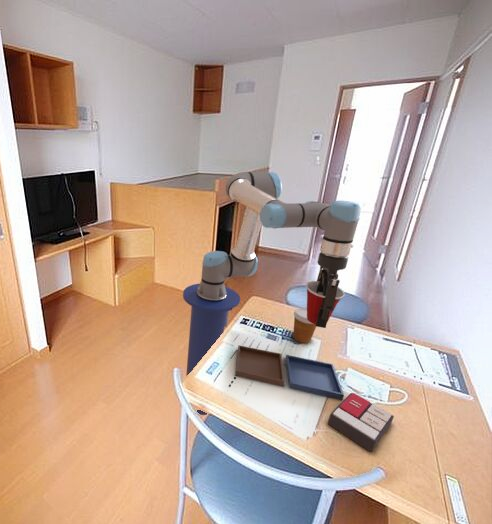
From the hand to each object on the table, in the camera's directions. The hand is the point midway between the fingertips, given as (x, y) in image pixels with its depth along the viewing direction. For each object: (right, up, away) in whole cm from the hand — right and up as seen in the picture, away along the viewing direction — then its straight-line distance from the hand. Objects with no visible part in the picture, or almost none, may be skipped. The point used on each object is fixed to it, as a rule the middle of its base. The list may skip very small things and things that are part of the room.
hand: (317, 319), depth 99 cm
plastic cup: (0, -1, +1) cm, 1 cm away
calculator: (+5, -28, -12) cm, 31 cm away
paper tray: (-15, -19, +10) cm, 26 cm away
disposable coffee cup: (+8, -13, +26) cm, 30 cm away
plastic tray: (+1, -21, +5) cm, 22 cm away
